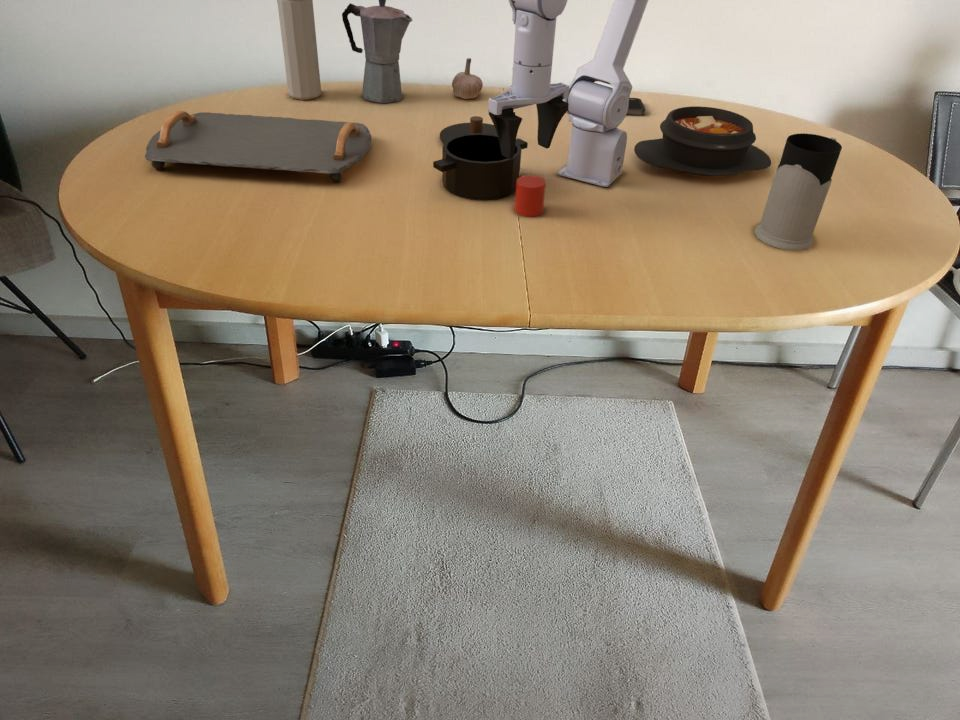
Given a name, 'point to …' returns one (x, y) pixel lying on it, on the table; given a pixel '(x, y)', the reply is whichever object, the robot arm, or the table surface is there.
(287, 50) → the water bottle
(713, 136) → the casserole
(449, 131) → the cooker lid
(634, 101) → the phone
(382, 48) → the moka pot
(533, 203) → the tin
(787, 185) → the glass holder
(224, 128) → the serving tray
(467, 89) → the garlic bulb
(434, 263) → the table surface
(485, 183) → the cooker
